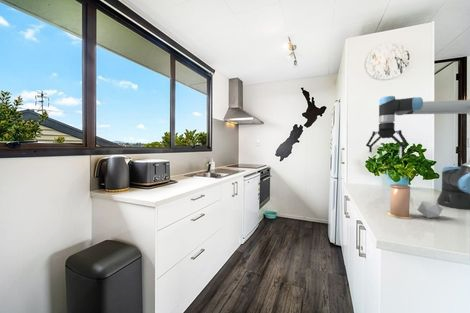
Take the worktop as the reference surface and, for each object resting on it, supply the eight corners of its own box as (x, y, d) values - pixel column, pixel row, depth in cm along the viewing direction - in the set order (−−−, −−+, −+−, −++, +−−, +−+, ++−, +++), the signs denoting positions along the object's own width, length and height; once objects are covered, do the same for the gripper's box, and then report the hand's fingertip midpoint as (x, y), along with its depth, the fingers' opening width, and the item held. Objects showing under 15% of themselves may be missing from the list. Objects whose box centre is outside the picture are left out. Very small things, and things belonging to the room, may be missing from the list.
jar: (408, 213, 101) (409, 185, 101) (410, 218, 95) (411, 187, 94) (389, 211, 106) (389, 183, 105) (390, 215, 99) (391, 186, 99)
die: (445, 222, 91) (449, 204, 94) (426, 213, 93) (431, 195, 95) (428, 222, 99) (432, 205, 102) (411, 213, 100) (416, 197, 103)
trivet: (412, 214, 102) (412, 213, 102) (416, 220, 93) (416, 219, 93) (385, 210, 108) (385, 209, 108) (386, 216, 99) (386, 215, 99)
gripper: (361, 123, 121) (361, 157, 122) (415, 120, 107) (414, 158, 108) (362, 125, 127) (361, 157, 128) (413, 121, 113) (412, 157, 114)
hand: (385, 157), depth 118 cm, fingers open, 13 cm apart
